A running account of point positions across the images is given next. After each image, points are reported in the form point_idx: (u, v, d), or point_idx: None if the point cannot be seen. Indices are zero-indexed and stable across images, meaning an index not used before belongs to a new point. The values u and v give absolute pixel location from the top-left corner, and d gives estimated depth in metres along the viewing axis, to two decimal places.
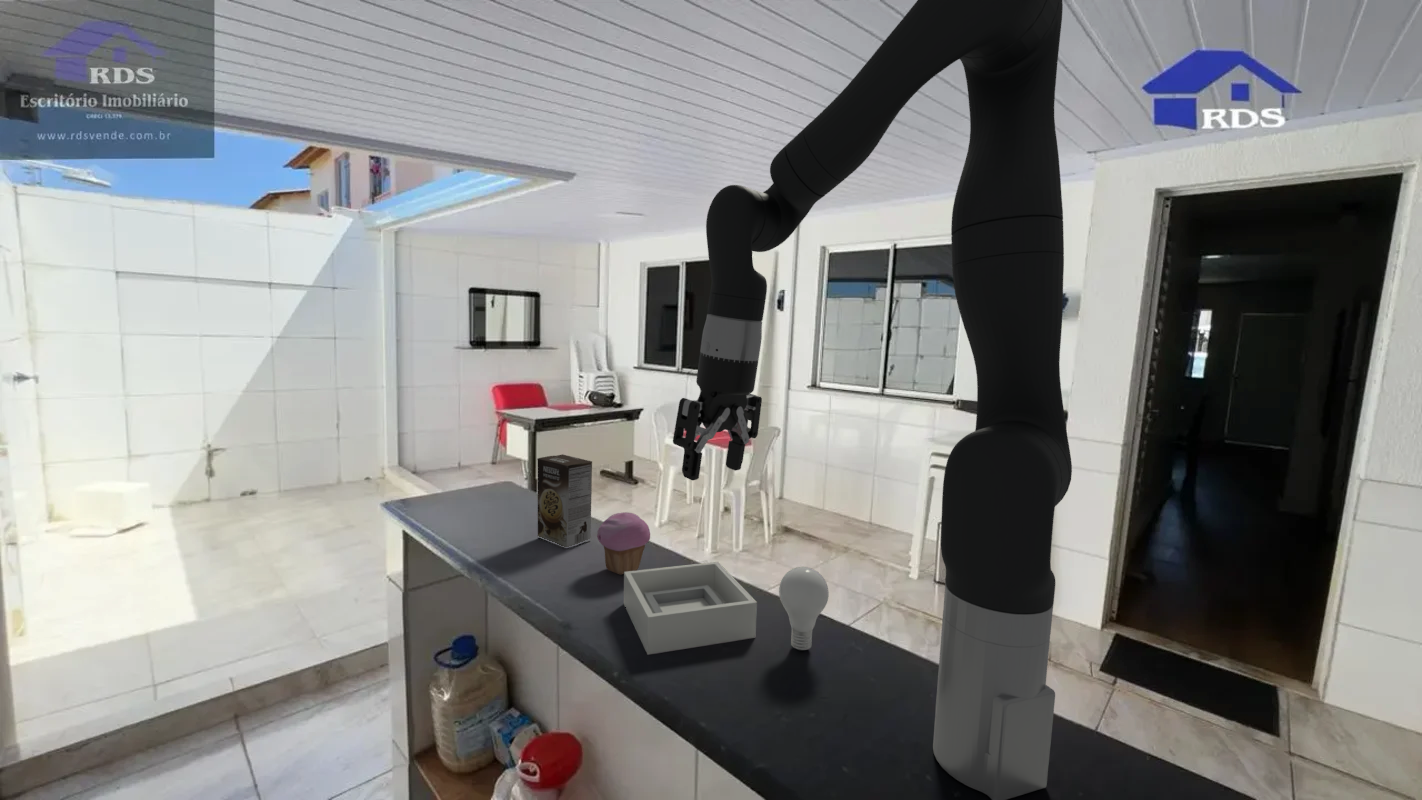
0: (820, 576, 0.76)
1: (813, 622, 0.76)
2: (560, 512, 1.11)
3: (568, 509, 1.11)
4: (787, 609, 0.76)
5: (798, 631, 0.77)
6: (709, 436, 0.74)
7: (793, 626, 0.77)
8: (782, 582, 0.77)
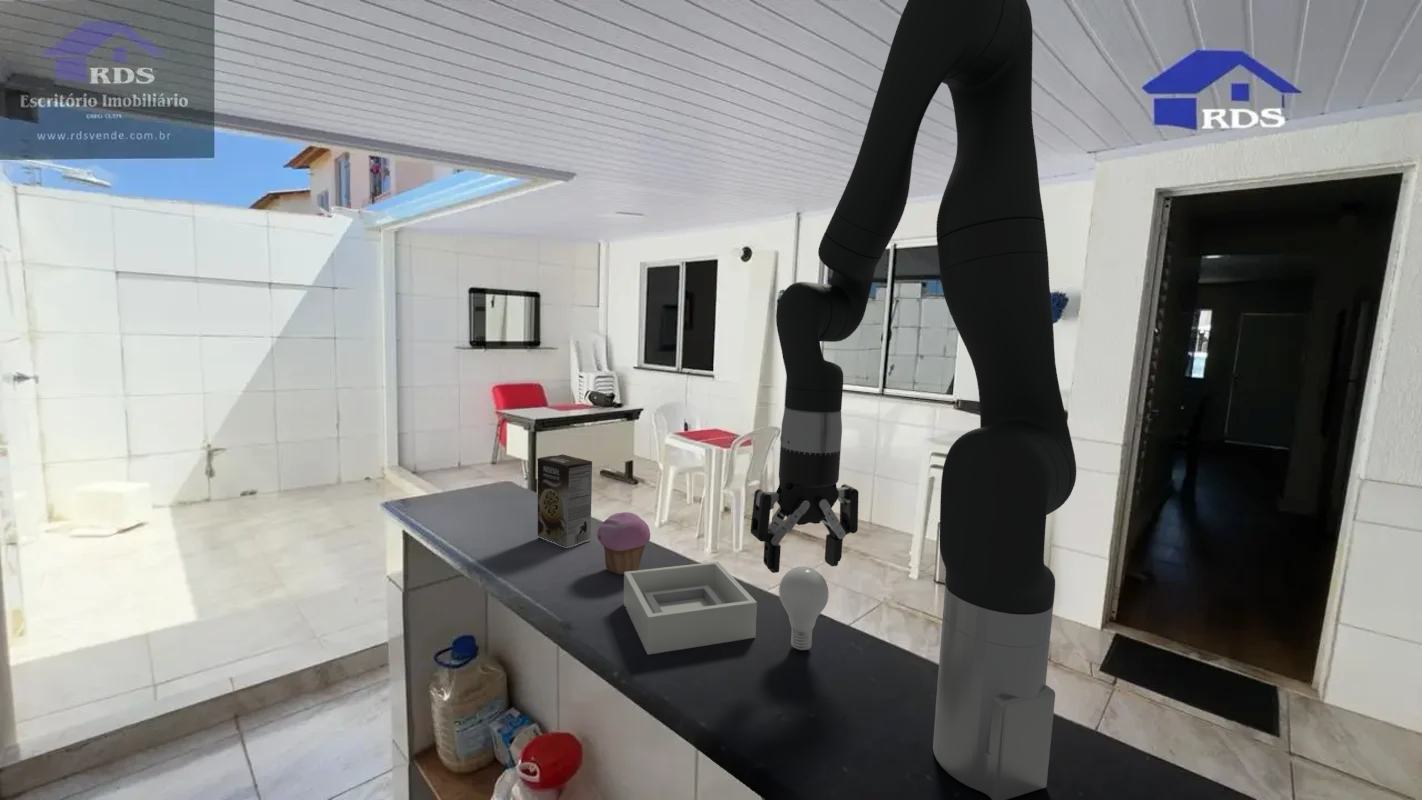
0: (820, 576, 0.76)
1: (813, 622, 0.76)
2: (560, 512, 1.11)
3: (568, 509, 1.11)
4: (787, 609, 0.76)
5: (798, 631, 0.77)
6: (786, 528, 0.74)
7: (793, 626, 0.77)
8: (782, 582, 0.77)
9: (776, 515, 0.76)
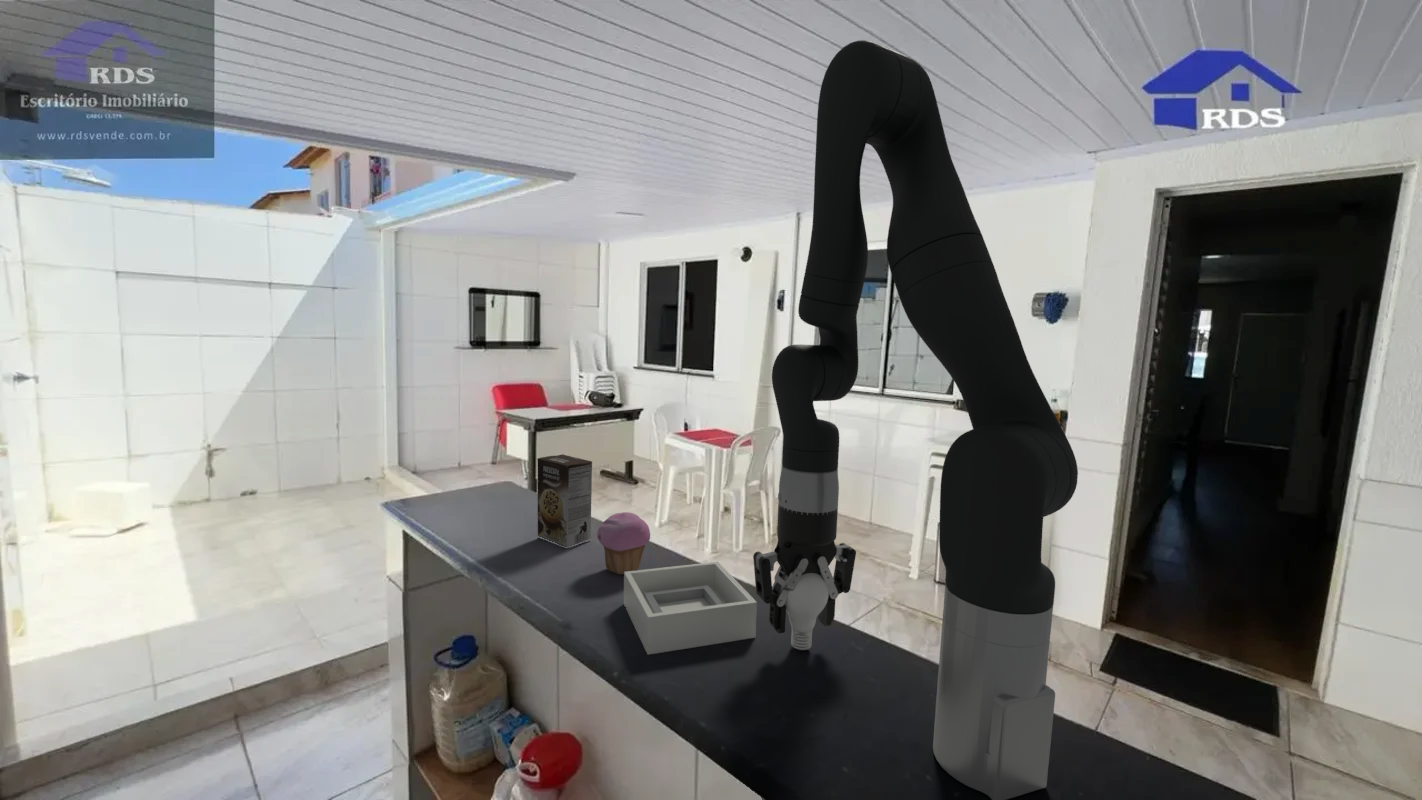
0: (820, 576, 0.76)
1: (813, 622, 0.76)
2: (560, 512, 1.11)
3: (568, 509, 1.11)
4: (787, 609, 0.76)
5: (798, 631, 0.77)
6: (789, 589, 0.75)
7: (793, 626, 0.77)
8: None
9: (778, 574, 0.77)
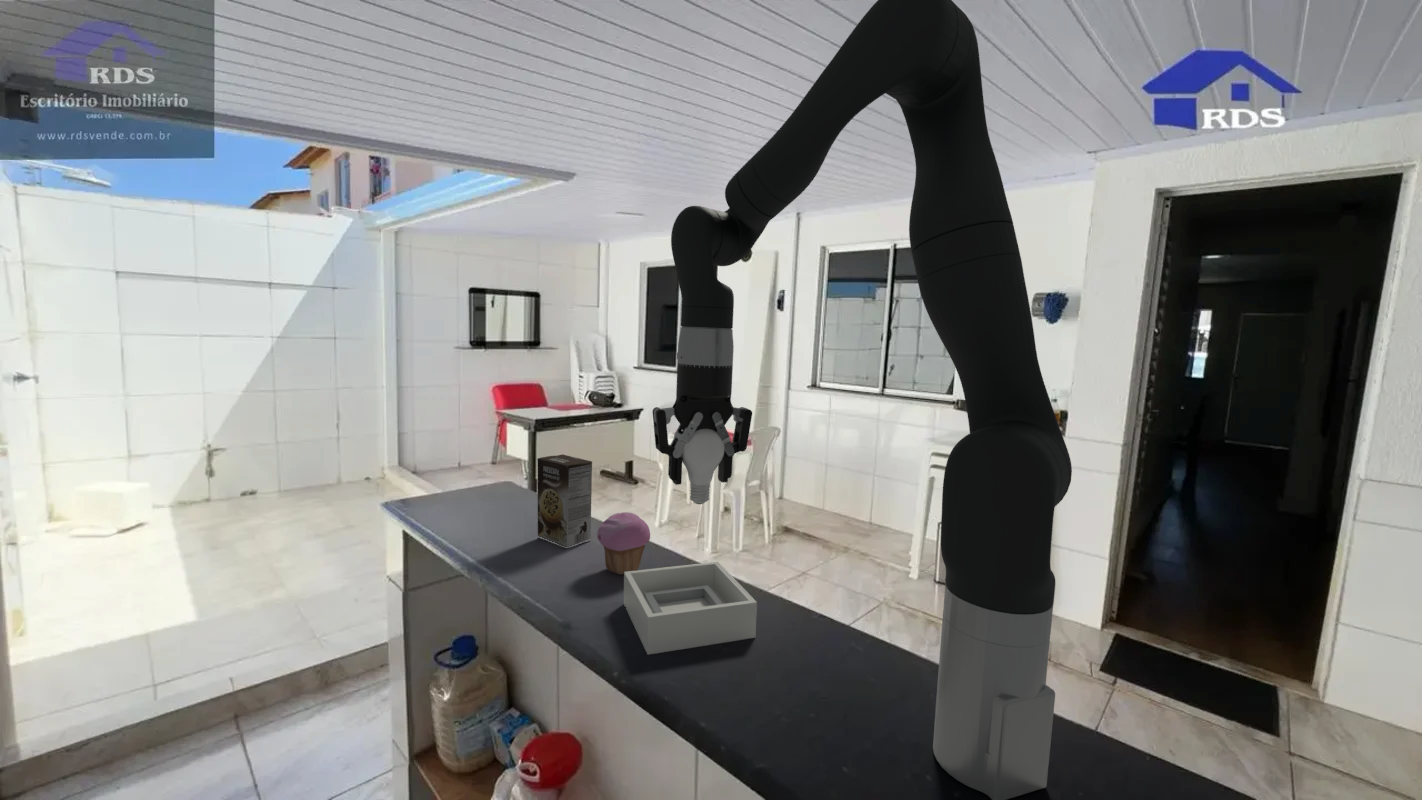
0: (716, 432, 0.81)
1: (709, 475, 0.81)
2: (560, 512, 1.11)
3: (568, 509, 1.11)
4: (684, 462, 0.81)
5: (695, 484, 0.81)
6: (684, 441, 0.79)
7: (690, 479, 0.82)
8: None
9: (677, 431, 0.82)
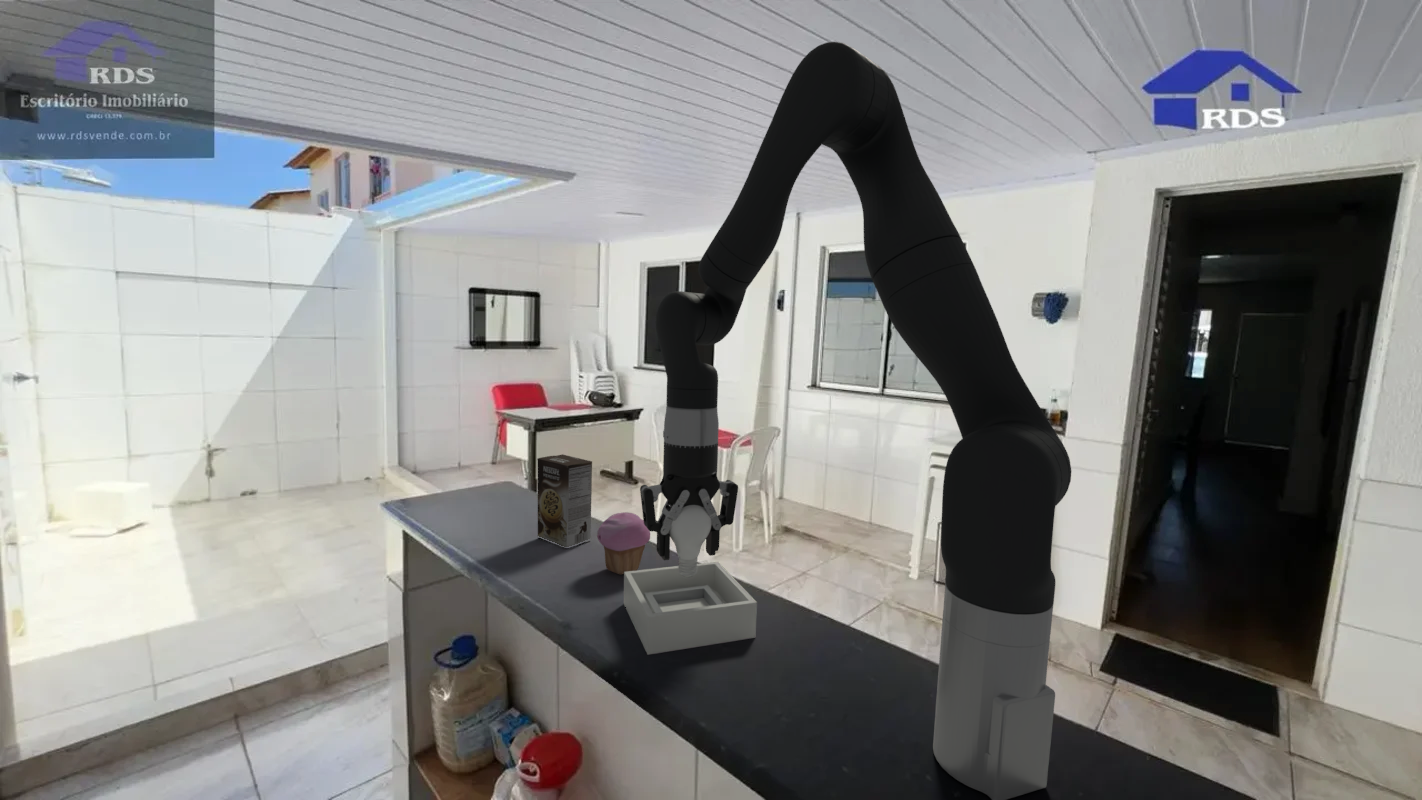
0: (703, 508, 0.83)
1: (696, 550, 0.83)
2: (560, 512, 1.11)
3: (568, 509, 1.11)
4: (672, 538, 0.82)
5: (683, 558, 0.83)
6: (672, 518, 0.81)
7: (678, 554, 0.83)
8: None
9: (665, 506, 0.83)
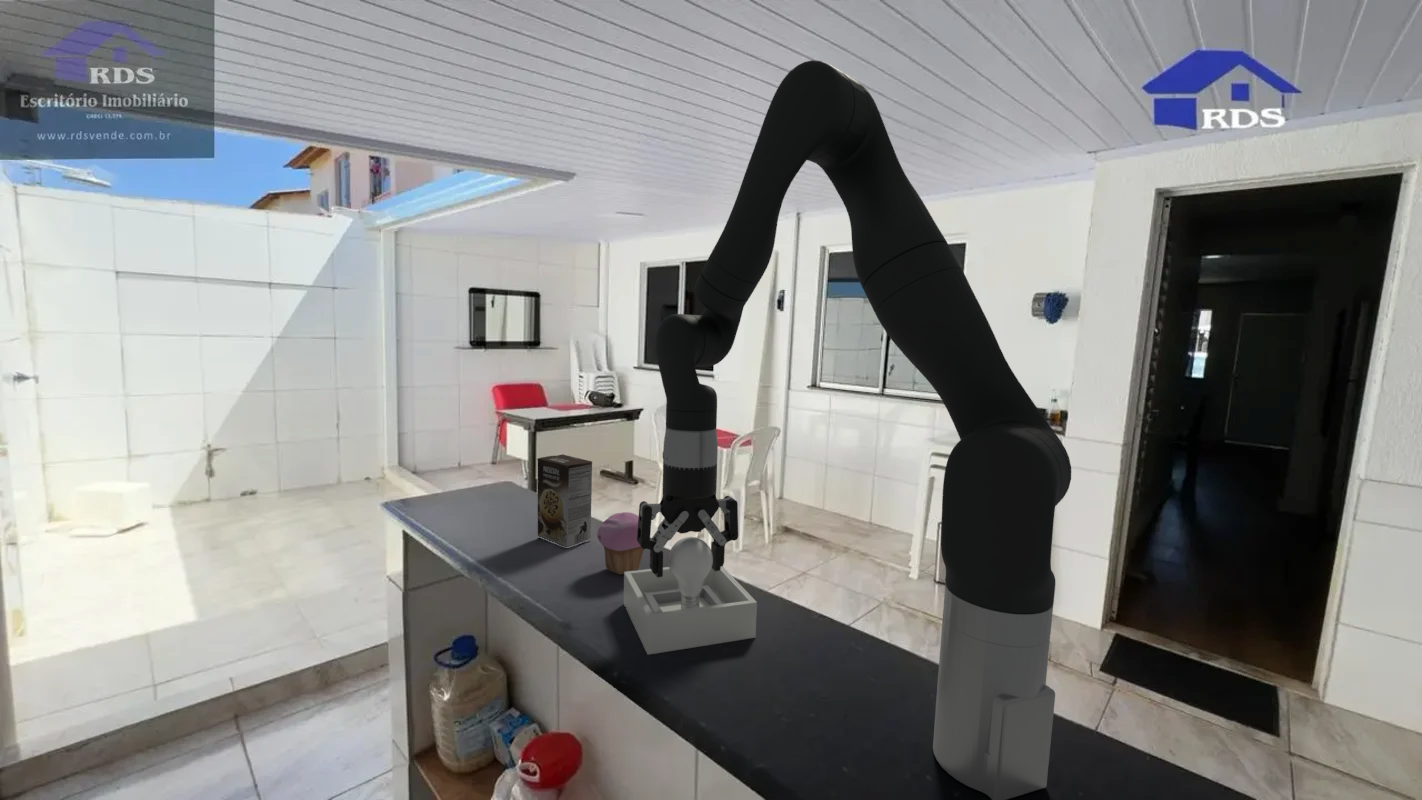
0: (704, 545, 0.83)
1: (698, 587, 0.83)
2: (560, 512, 1.11)
3: (568, 509, 1.11)
4: (674, 575, 0.83)
5: (685, 595, 0.84)
6: (667, 537, 0.81)
7: (681, 591, 0.84)
8: (670, 551, 0.84)
9: (661, 524, 0.83)
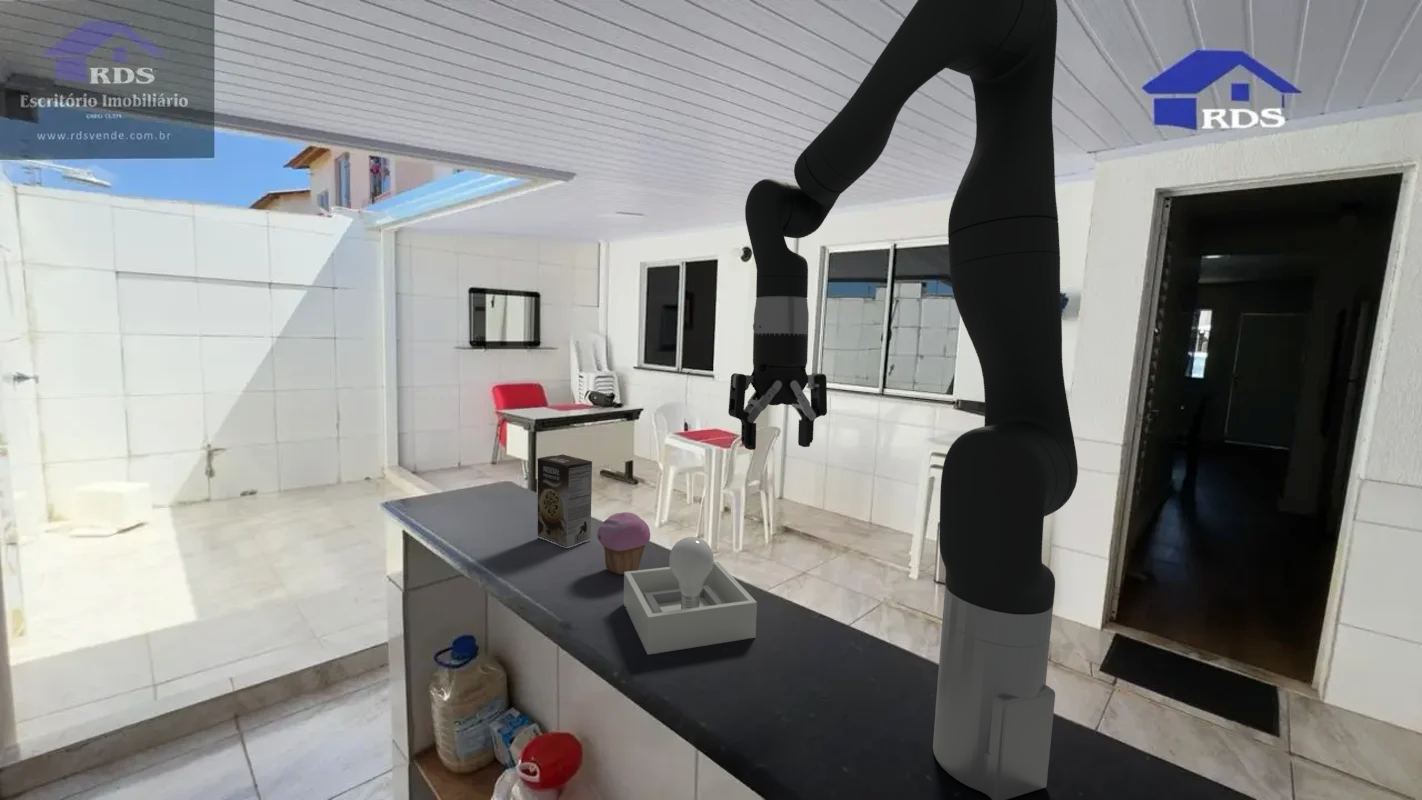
0: (705, 545, 0.83)
1: (699, 587, 0.83)
2: (560, 512, 1.11)
3: (568, 509, 1.11)
4: (674, 575, 0.83)
5: (685, 595, 0.84)
6: (761, 406, 0.80)
7: (681, 591, 0.84)
8: (671, 551, 0.84)
9: (752, 398, 0.83)
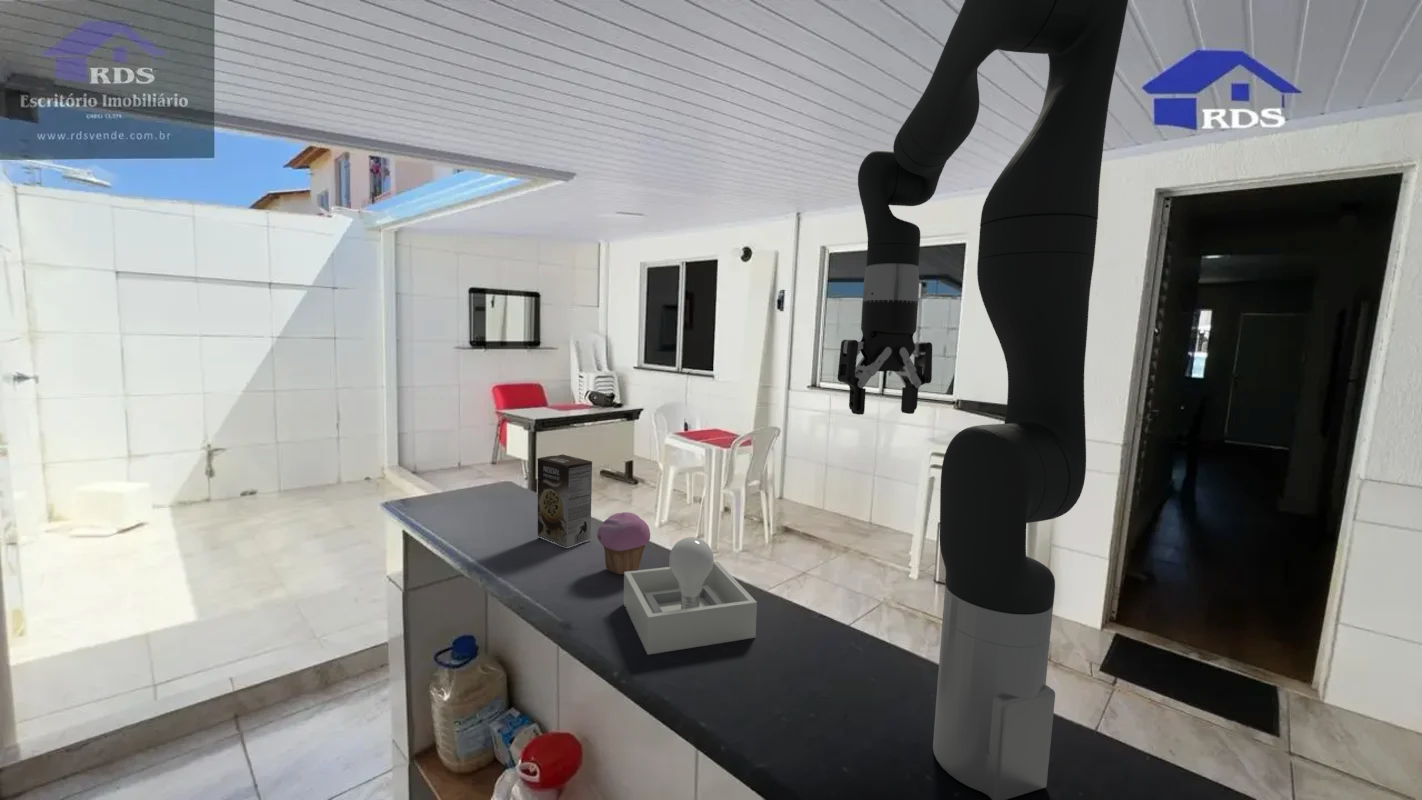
0: (705, 545, 0.83)
1: (699, 587, 0.83)
2: (560, 512, 1.11)
3: (568, 509, 1.11)
4: (674, 575, 0.83)
5: (685, 596, 0.84)
6: (871, 372, 0.82)
7: (681, 591, 0.84)
8: (671, 551, 0.84)
9: (859, 365, 0.85)
